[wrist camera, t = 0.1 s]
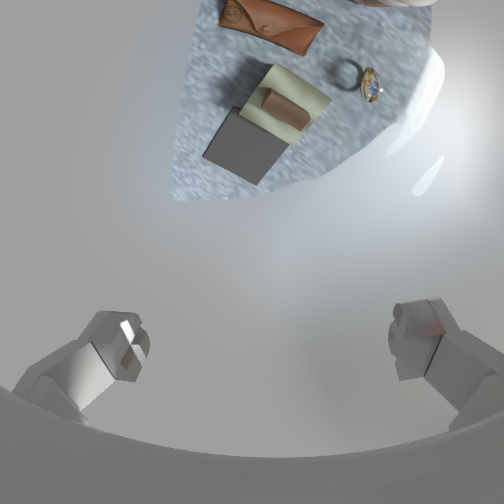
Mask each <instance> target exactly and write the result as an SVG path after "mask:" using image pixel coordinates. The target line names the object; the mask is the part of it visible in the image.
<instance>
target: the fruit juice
mask: <svg viewBox="0 0 504 504" xmlns="http://www.w3.org/2000/svg"><path fill="white" fill-rule="evenodd" d="M354 1H355V2H357V3H359V4H361V5H364V6H368V7H406V6H415V7H423V6H429V5H432V4H434V3H435V2H437V0H354Z"/></svg>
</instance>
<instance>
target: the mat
mask: <svg viewBox="0 0 504 504" xmlns="http://www.w3.org/2000/svg"><path fill="white" fill-rule="evenodd" d="M240 111H241V110H240V109H238V108H236V107H234V108H233V110H232V111H231V113H230V114H229V116H228V118H227V119H226V121H225V122H224V124H223V125H222V127H221V129H220V130H219V132H218V133H217V135H216V137H215V138H214V140H213V141H212V143H211V145H210V146H209V148H208V150H207V151H206V153H205V155H204V156H203V158H205V159H207V160H209V161H211V162H213V163H215V164H216V165H218V166H220V167H222V168H224V169H226V170H228V171H230V172H232V173H234V174H236V175H238V176H239V177H241V178H243V179H245V180H247V181H249V182H251V183H253V184H254V185H256V186H257V184H258V183H259V182H260V181H261V179H262V178H263V177H264V176H265V174H266V173H267V172H268V171H269V169H270V168H271V167H272V166H273V164H274V163H275V162H276V161H277V159H278V158H279V157H280V156H281V154H282V153H283V152H284V151H285V150H286V148H287V147H288V146H289V145H290V144H288V143H287V142H285V141H284V140H282V139H280V138H279V137H277V136H275V135H274V134H272V133H270V132H269V131H267V130H265V129H264V128H262V127H260V126H259V125H257V124H255V123H253V122H252V121H250V120H248V119H246V118H245V117H243V116H241V115H239V112H240Z"/></svg>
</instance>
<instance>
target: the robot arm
mask: <svg viewBox="0 0 504 504" xmlns="http://www.w3.org/2000/svg"><path fill="white" fill-rule="evenodd" d="M393 316H394V318H395V320H394V321H393V322H392V323H391V324H390V328H389V334H388V336H389V338H388V341H389V347H390V351H391V354H393V355H394V356H395V357H397V359H396V362H395V367H396V370H397V373H398V376H399V380H400V381H401V380H408V379H414V378H419V377H424V378H425V379H426V380H427V381H428V382H429V383H430V384H431V385H432V386H433V387H434V388H435V389H436V390H437V391H438V392H439V393H440V394H441V395H442V396H443V397H444V398H445V399H446V400H447V401H448V402H449V403H450V404H451V405H452V406H454V407H455V408H456V409H457V410H458V411H459V413H458V415H457V416H456V417H455V418H454V420H453V421H452V422H451V424H450V425H449V430H450V431H449V432H446V433H443V434H439V435H436V436H433V437H429V438H425V439H422V440H418V441H414V442H410V443H406V444H401V445H397V446H392V447H387V448H382V449H376V450H370V451H364V452H357V453H349V454H340V455H330V456H317V457H298V458H260V457H239V456H226V455H216V454H207V453H200V452H192V451H186V450H180V449H174V448H169V447H163V446H159V445H154V444H149V443H145V442H141V441H137V440H133V439H129V438H125V437H122V436H118V435H115V434H111V433H108V432H104V431H102V430H98V429H96V428H93V427H90V426H87V425H88V419H87V418H86V417H85V416H84V415H83V414H82V413H81V410H82V409H84V408H85V407H86V406H87V405H88V404H89V403H90V402H91V401H93V400H94V399H95V398H96V397H97V396H98V395H99V394H100V393H102V392H103V391H104V390H105V389H106V388H107V387H108V386H110V385H111V384H112V383H113V382H114V381H115V379H117V380H123V381H130V382H135V381H136V379H137V377H138V375H139V373H140V370H141V368H142V367H141V364H140V362H141V361H143V360H144V359H146V358H147V355H148V353H149V348H150V342H149V337H148V335H147V332H146V331H145V330H143V329H142V328H141V327H140V326H141V323H142V321H141V319H140V317H139V315H138V314H136V313H130V312H116V311H99V312H97V313H96V315H95V316H94V317H93V319H92V320H91V321H90V323H89V324H88V326H87V327H86V328H85V330H84V331H83V333H82V334H81V335H80V336H79V338H78V339H77V340H73V341H71V342H70V343H68V344H66V345H64V346H63V347H61V348H60V349H58V350H56V351H55V352H53V353H51V354H50V355H48V356H46V357H45V358H43V359H42V360H40V361H38V362H37V363H35V364H33V365H32V366H30V367H29V368H28V369H27V370H26V371H25V373H24V374H23V376H22V377H21V379H20V380H19V382H18V383H17V385H16V386H15V388H14V389H13V391H12V392H10V391H9V390H7V389H5V388H3V387H2V386H0V504H504V354H503V353H501V352H499V351H497V350H496V349H495V348H493V347H491V346H490V345H488V344H487V343H485V342H483V341H482V340H480V339H479V338H477V337H475V336H473V335H472V334H470V333H469V332H467V331H465V330H463V331H461V330H460V328H459V327H458V325H457V323H456V321H455V320H454V318H453V316H452V315H451V313H450V311H449V310H448V308H447V307H446V305H445V304H444V302H443V300H442V299H441V298H439V297H436V298H430V299H425V300H419V301H410V302H403V303H396V305H395V307H394V310H393Z"/></svg>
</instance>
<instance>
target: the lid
mask: <svg viewBox="0 0 504 504" xmlns="http://www.w3.org/2000/svg"><path fill="white" fill-rule="evenodd" d="M331 101H332V100H331V99H330V98H329V97H327V96H326V95H325V94H323V93H322V92H320V91H319V90H318V89H316V88H315V87H313V86H312V85H311V84H309V83H308V82H306V81H305V80H303V79H302V78H300V77H299V76H297V75H296V74H294V73H293V72H291V71H289V70H288V69H286V68H285V67H283V66H281V65H280V64H278V63H276V62H275V63H274V65H273V66H272V67H271V69H270V70H269V71H268V73H267V74H266V76H265V77H264V78H263V80H262V81H261V82H260V84H259V85H258V87H257V88H256V89H255V91H254V92H253V94H252V95H251V96H250V98H249V99H248V101H247V102H246V104H245V105H244V107H243V108H242V110H241V111H240V112H239V115H241V116H243V117H245V118H246V119H248V120H250V121H252V122H253V123H255V124H257V125H259V126H260V127H262V128H264V129H265V130H267V131H269V132H270V133H272V134H274V135H275V136H277V137H279V138H280V139H282V140H284V141H285V142H287V143H288V144H290V145H292V146H294V144H295V143H296V142H297V141H298V140H299V138H300V137H301V136H302V135H303V134H304V133H305V131H306V130H307V129H308V128H309V127H310V125H311V124H312V123H313V122H314V121H315V120H316V118H317V117H318V116H319V115H320V114H321V113H322V111H323V110H324V109H325V108H326V107H327V106H328V104H329V103H330V102H331Z"/></svg>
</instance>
